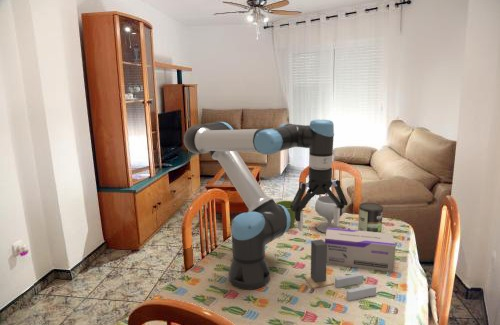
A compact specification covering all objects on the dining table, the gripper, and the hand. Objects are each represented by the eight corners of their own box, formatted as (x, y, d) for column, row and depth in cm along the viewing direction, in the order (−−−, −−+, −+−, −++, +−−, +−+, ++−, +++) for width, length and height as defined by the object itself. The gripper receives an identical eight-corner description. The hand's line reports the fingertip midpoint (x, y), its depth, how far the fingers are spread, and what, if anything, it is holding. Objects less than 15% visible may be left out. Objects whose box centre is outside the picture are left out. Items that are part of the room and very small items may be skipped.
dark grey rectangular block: (315, 282, 116) (316, 245, 113) (310, 276, 120) (311, 240, 117) (326, 280, 117) (327, 244, 114) (320, 275, 121) (321, 239, 118)
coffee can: (384, 233, 155) (386, 205, 152) (377, 242, 147) (379, 211, 144) (362, 228, 161) (363, 200, 158) (354, 236, 153) (355, 207, 150)
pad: (312, 288, 114) (312, 287, 114) (303, 276, 121) (303, 274, 121) (334, 284, 116) (334, 283, 116) (323, 272, 123) (323, 271, 123)
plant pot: (300, 230, 161) (300, 208, 158) (275, 230, 161) (275, 208, 159) (297, 220, 172) (297, 200, 170) (274, 221, 173) (274, 200, 170)
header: (348, 300, 107) (349, 292, 106) (334, 285, 115) (335, 277, 115) (376, 295, 109) (376, 287, 109) (360, 280, 118) (360, 272, 117)
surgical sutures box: (390, 258, 133) (392, 233, 130) (393, 272, 123) (395, 245, 120) (326, 251, 140) (327, 227, 138) (324, 263, 130) (325, 238, 128)
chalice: (332, 221, 170) (333, 193, 167) (350, 231, 158) (351, 201, 155) (309, 225, 166) (309, 197, 162) (325, 237, 153) (325, 206, 150)
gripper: (289, 172, 103) (288, 236, 108) (360, 166, 109) (356, 227, 114) (280, 167, 110) (280, 227, 115) (348, 162, 116) (345, 218, 121)
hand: (318, 227), depth 115 cm, fingers open, 13 cm apart
